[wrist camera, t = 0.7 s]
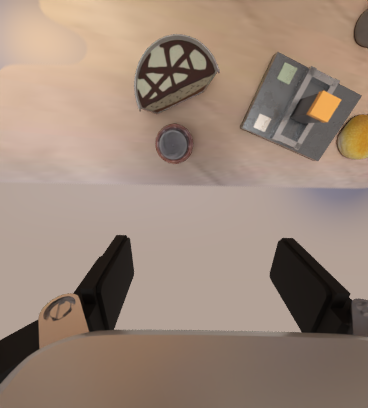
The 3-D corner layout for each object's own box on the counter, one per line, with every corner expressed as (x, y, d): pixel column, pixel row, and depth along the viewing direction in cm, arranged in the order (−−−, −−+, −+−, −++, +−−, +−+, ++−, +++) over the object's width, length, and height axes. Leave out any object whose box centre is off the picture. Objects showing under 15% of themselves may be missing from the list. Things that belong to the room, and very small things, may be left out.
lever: (298, 98, 30) (323, 90, 24) (313, 106, 30) (341, 99, 25) (288, 117, 31) (309, 113, 25) (302, 124, 31) (327, 122, 26)
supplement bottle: (196, 148, 35) (202, 154, 24) (172, 163, 36) (166, 175, 25) (182, 120, 33) (180, 113, 22) (156, 137, 34) (143, 137, 23)
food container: (199, 48, 29) (206, 6, 19) (211, 88, 31) (222, 67, 21) (134, 81, 30) (112, 57, 21) (150, 117, 32) (136, 109, 23)
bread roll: (338, 118, 33) (358, 115, 29) (387, 110, 32) (414, 106, 28) (331, 161, 36) (348, 164, 32) (376, 155, 35) (399, 157, 31)
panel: (273, 56, 29) (281, 48, 26) (353, 97, 31) (368, 94, 29) (239, 128, 33) (244, 127, 31) (312, 160, 35) (322, 162, 33)
